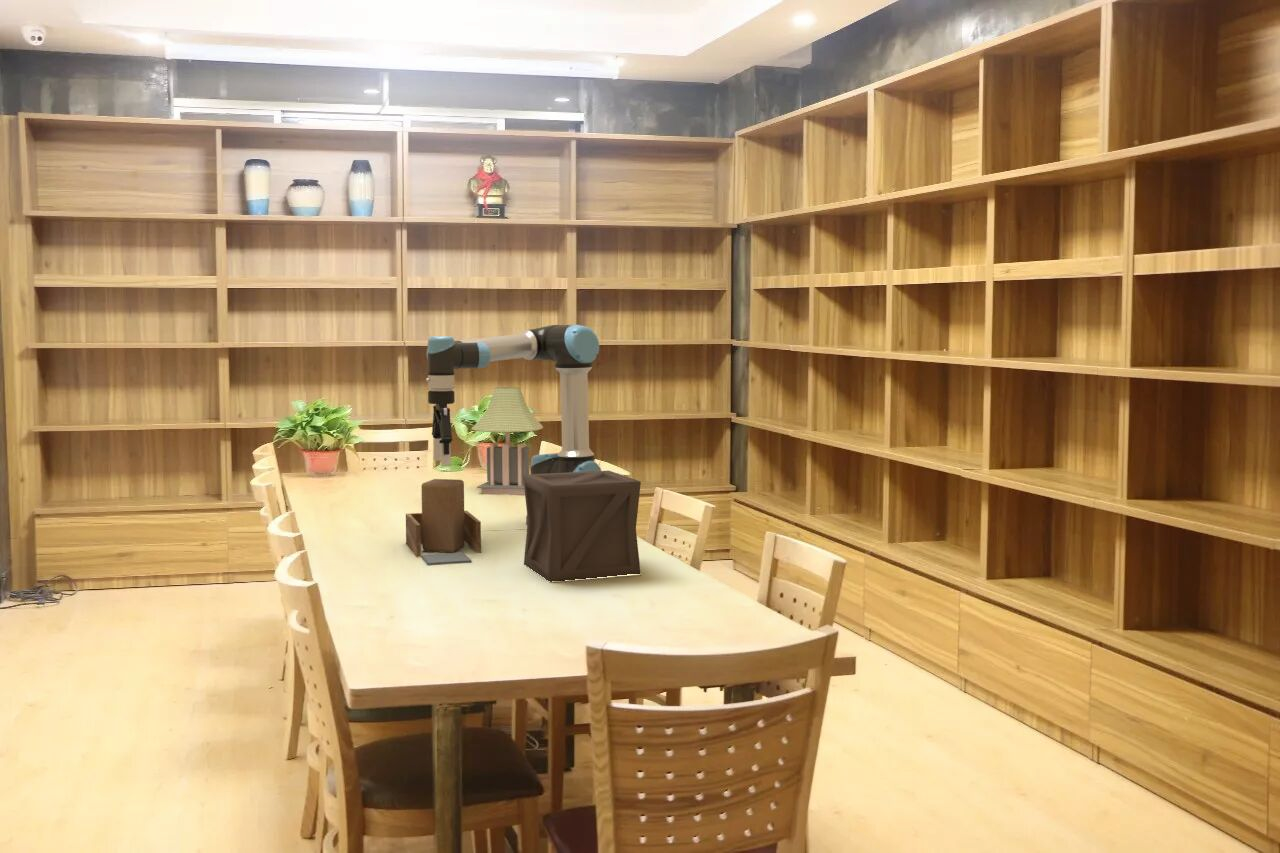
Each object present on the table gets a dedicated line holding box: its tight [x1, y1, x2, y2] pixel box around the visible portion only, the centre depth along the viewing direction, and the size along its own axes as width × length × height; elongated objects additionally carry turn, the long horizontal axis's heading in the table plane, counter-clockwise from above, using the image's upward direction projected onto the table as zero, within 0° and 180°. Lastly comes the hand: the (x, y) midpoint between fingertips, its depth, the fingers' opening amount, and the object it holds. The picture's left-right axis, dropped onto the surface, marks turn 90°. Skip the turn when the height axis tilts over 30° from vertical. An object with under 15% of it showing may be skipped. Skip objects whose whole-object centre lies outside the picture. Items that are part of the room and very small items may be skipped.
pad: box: [420, 552, 473, 566], centre depth 349 cm, size 12×12×1 cm
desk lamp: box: [471, 386, 544, 496], centre depth 479 cm, size 26×28×40 cm
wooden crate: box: [523, 470, 642, 583], centre depth 334 cm, size 25×25×25 cm
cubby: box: [405, 510, 482, 558], centre depth 366 cm, size 18×21×9 cm
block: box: [421, 478, 466, 553], centre depth 364 cm, size 10×10×20 cm
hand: (442, 463), depth 362 cm, fingers open, 13 cm apart
